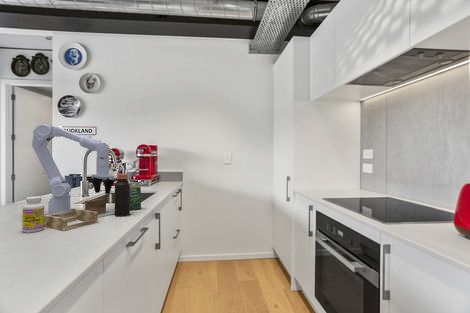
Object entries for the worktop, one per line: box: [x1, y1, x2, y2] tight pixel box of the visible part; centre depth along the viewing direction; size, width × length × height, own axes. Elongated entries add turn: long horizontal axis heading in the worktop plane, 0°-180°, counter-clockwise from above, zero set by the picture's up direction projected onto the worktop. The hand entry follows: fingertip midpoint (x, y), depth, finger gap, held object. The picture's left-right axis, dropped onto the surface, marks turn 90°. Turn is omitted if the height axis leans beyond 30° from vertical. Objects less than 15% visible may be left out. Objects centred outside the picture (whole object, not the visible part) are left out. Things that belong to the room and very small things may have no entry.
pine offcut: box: [66, 216, 77, 224], centre depth 111 cm, size 5×9×2 cm, turn 159°
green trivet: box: [98, 211, 115, 219], centre depth 125 cm, size 12×12×1 cm
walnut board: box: [84, 197, 107, 214], centre depth 125 cm, size 3×9×7 cm, turn 153°
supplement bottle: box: [21, 195, 45, 234], centre depth 99 cm, size 7×7×13 cm
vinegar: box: [114, 173, 131, 217], centre depth 125 cm, size 7×7×20 cm
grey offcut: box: [51, 211, 72, 218], centre depth 111 cm, size 4×7×2 cm, turn 177°
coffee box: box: [130, 184, 142, 211], centre depth 137 cm, size 8×3×13 cm, turn 122°
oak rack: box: [44, 207, 99, 232], centre depth 109 cm, size 18×14×4 cm
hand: (102, 193), depth 130 cm, fingers open, 7 cm apart
